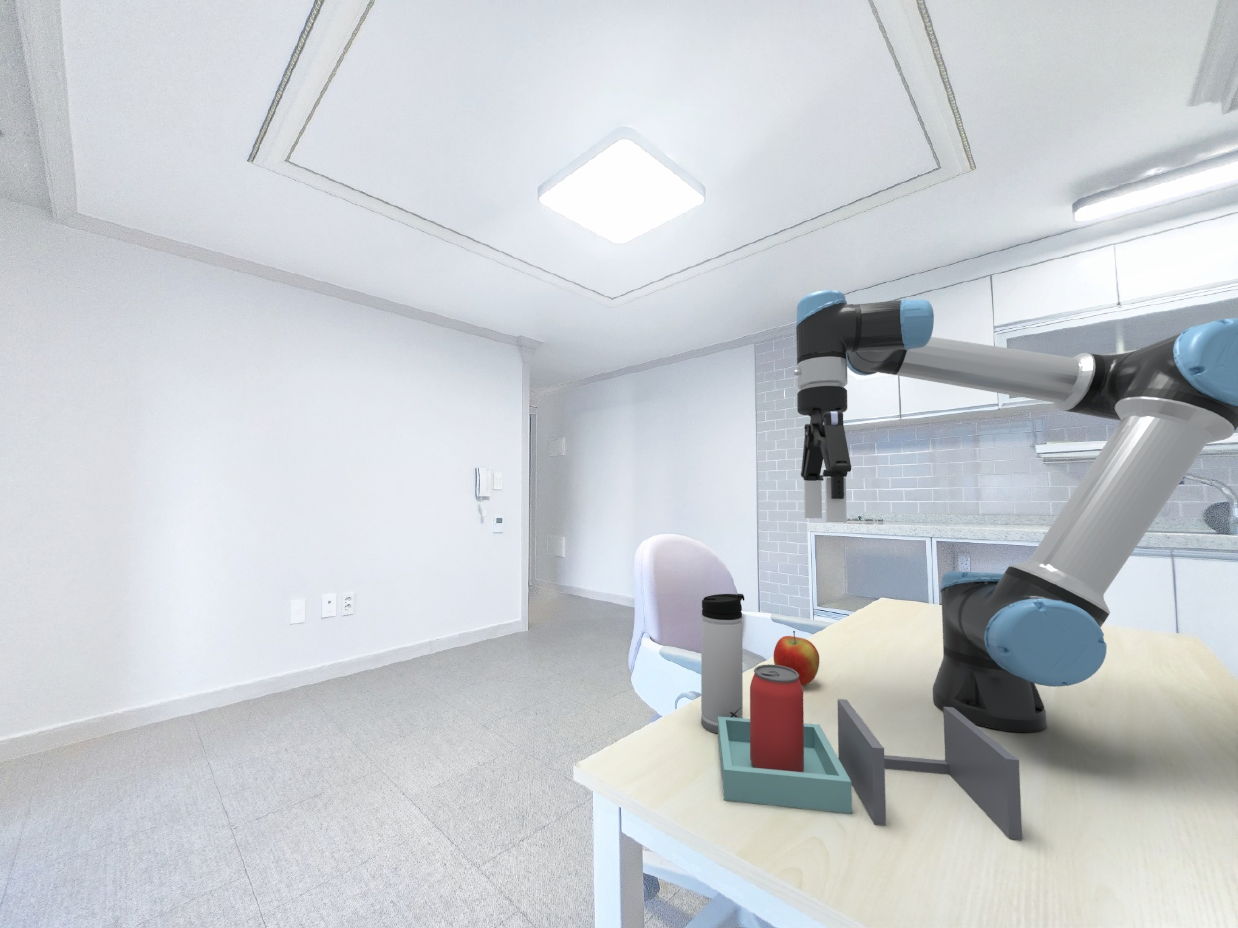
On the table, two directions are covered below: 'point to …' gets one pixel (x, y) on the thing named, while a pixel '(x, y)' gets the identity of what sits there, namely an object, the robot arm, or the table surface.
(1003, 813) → the bay
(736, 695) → the travel mug
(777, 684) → the beer can
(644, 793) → the table surface
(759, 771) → the tray
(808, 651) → the apple
